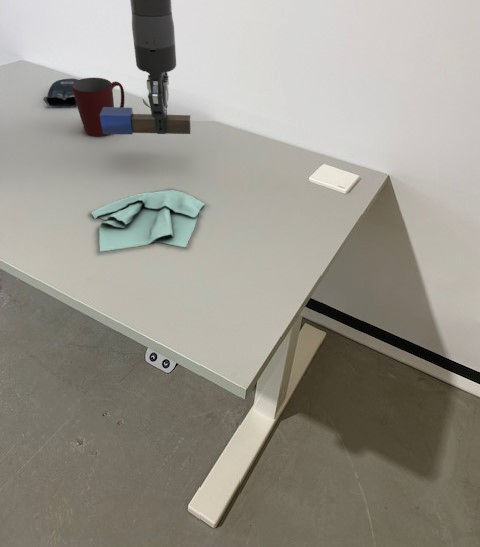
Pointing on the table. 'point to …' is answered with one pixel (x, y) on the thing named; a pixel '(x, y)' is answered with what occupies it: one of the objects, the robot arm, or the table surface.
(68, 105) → the electronic device
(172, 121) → the brush
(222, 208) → the table surface
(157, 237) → the cloth
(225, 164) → the table surface
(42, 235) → the table surface
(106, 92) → the mug
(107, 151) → the table surface
